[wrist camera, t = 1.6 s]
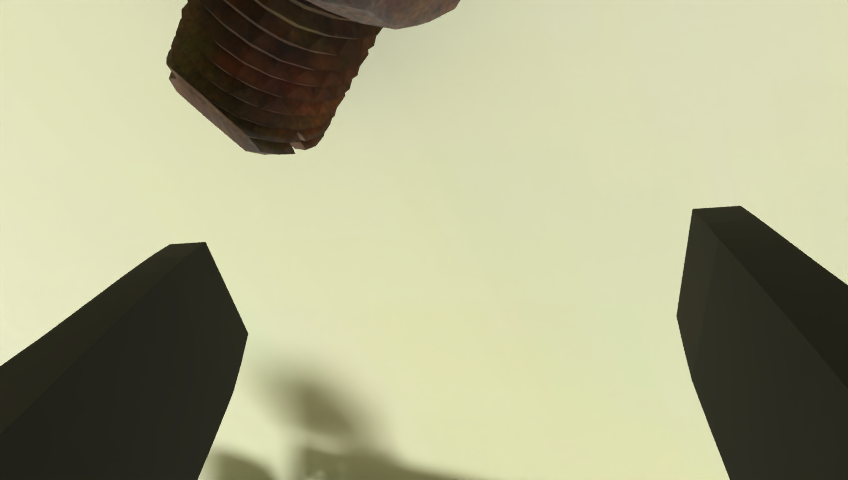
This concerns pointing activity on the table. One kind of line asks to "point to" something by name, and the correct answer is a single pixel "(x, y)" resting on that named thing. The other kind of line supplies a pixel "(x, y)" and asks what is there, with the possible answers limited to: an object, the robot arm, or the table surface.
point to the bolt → (280, 62)
